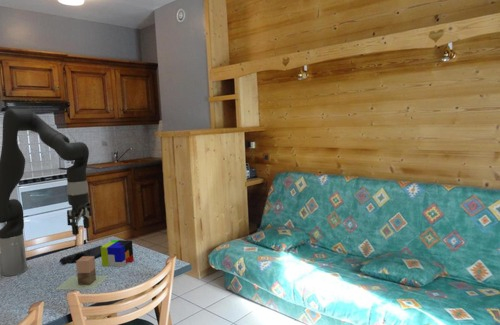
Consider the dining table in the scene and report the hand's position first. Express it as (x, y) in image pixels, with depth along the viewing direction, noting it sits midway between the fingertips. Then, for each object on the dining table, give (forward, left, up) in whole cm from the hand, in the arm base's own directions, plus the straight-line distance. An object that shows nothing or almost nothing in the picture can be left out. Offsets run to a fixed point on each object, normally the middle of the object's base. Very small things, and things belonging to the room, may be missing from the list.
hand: (81, 231), depth 145 cm
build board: (-1, -1, -22) cm, 22 cm away
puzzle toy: (+5, +20, -23) cm, 30 cm away
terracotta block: (+1, -1, -16) cm, 16 cm away
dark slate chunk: (-16, +29, -23) cm, 40 cm away
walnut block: (+1, -1, -21) cm, 21 cm away
